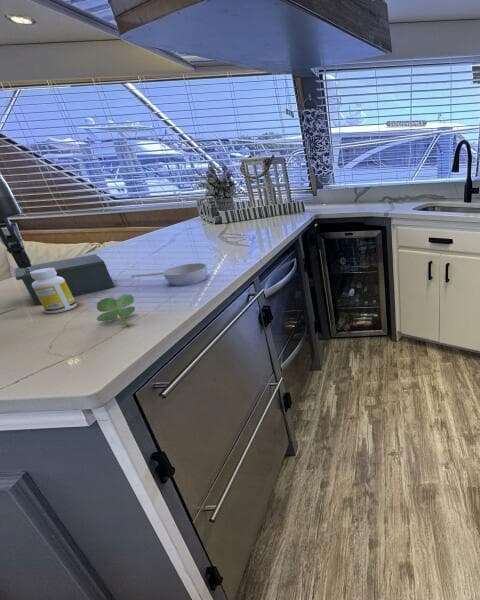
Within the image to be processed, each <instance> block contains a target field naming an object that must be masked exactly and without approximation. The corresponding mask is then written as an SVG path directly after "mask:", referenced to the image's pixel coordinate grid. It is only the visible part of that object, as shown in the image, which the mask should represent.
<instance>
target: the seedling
mask: <svg viewBox="0 0 480 600" xmlns="http://www.w3.org/2000/svg"><path fill="white" fill-rule="evenodd" d="M134 302H135V297H134V296H133V295H132V294H129V293H125V294H122V295H121V296H120V297H118V298H115V297H105V298H102V299H101V300H99V301H98V302H97V303H96V309H97V311H98V312H101V314H100V315H98V316H97V317H96V320H97V322H109V321H115V320H116V319H118V317H119V318H121V320H122V322H123V323H125V325H126V326H127V327H130V325H129V323H128V322H126V321H125V319H124V318H127V317H129V316H131V315H132V314H133V313H134V312H135V310H136V307H135V306H131V305H132V304H133V303H134Z"/></svg>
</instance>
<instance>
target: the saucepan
mask: <svg viewBox="0 0 480 600" xmlns="http://www.w3.org/2000/svg"><path fill="white" fill-rule="evenodd" d="M157 275H158V276H161V275H163V276H164V278H165V280H166V281H167V282H168V283H170V284H171V285H173V286H187V285H192V284H193V285H194V284H196V283H200V282H202V281H204V280H205V279H206V277H207V275H208V266H207V264H205V263H201V262H200V263H187V264H180V265H177V266H173V267H170V268H167V269H165V270H164V271H155V272H144V273H134V274H132V275H131V277H132V278H137V277H147V276H150V277H151V276H157Z"/></svg>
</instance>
